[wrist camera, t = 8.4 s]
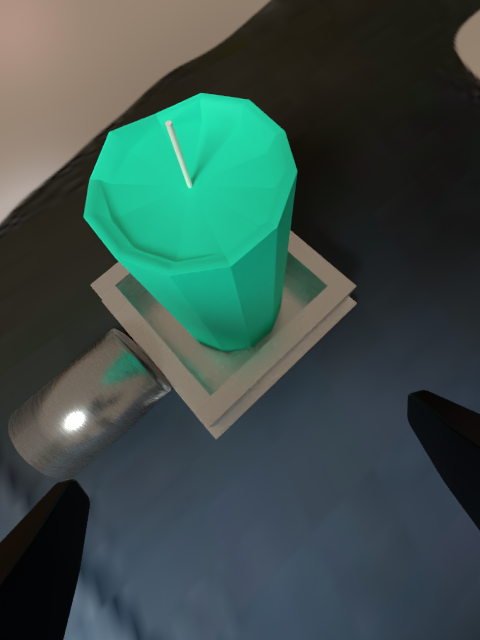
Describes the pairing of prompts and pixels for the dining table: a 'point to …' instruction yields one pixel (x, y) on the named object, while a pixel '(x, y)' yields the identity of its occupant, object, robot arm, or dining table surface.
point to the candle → (201, 214)
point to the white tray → (170, 366)
